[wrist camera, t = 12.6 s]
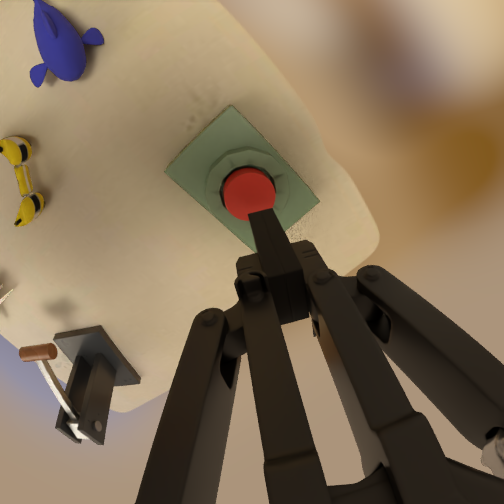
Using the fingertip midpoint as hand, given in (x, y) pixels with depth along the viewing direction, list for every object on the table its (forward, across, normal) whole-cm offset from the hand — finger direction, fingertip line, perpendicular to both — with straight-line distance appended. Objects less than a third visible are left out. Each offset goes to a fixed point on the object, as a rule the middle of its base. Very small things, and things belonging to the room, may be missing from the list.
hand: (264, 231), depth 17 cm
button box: (+11, 0, 0) cm, 11 cm away
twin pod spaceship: (+11, -22, +8) cm, 26 cm away
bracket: (+11, -27, -19) cm, 35 cm away
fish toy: (+11, -14, +22) cm, 28 cm away
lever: (+2, -27, -14) cm, 31 cm away
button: (+7, 0, 0) cm, 7 cm away
